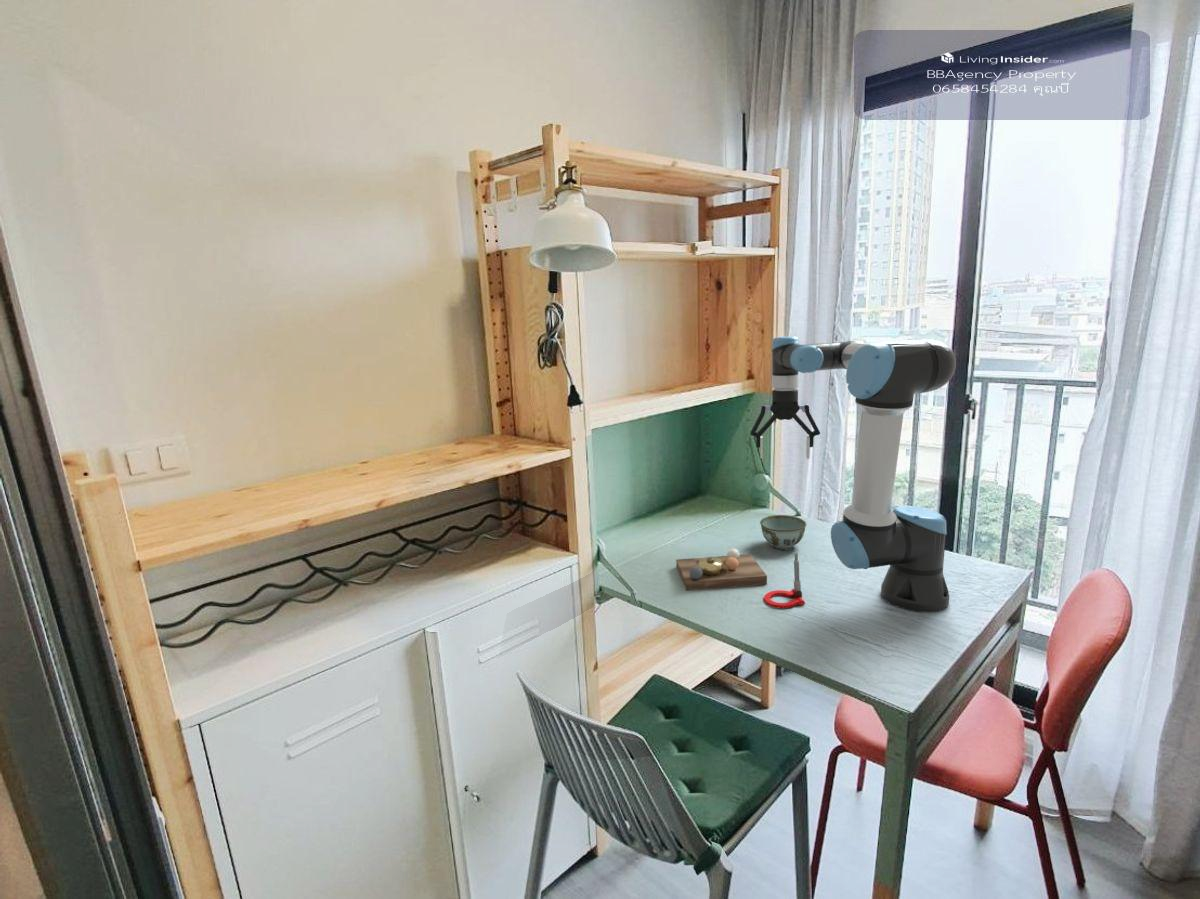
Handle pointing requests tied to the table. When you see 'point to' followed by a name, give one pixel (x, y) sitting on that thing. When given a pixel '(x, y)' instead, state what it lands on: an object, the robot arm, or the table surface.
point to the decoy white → (733, 553)
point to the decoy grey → (695, 572)
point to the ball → (732, 563)
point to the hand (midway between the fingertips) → (784, 457)
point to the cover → (711, 565)
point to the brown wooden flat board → (723, 574)
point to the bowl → (783, 531)
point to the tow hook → (793, 593)
